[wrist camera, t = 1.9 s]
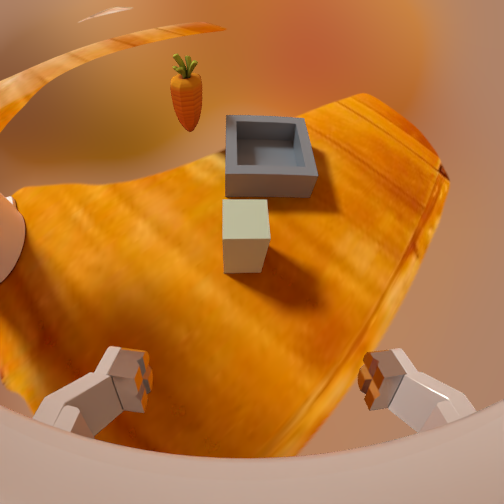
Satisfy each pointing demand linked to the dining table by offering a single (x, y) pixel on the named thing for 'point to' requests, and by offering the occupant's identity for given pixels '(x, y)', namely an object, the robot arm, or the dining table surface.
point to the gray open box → (268, 157)
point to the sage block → (245, 235)
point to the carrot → (186, 93)
